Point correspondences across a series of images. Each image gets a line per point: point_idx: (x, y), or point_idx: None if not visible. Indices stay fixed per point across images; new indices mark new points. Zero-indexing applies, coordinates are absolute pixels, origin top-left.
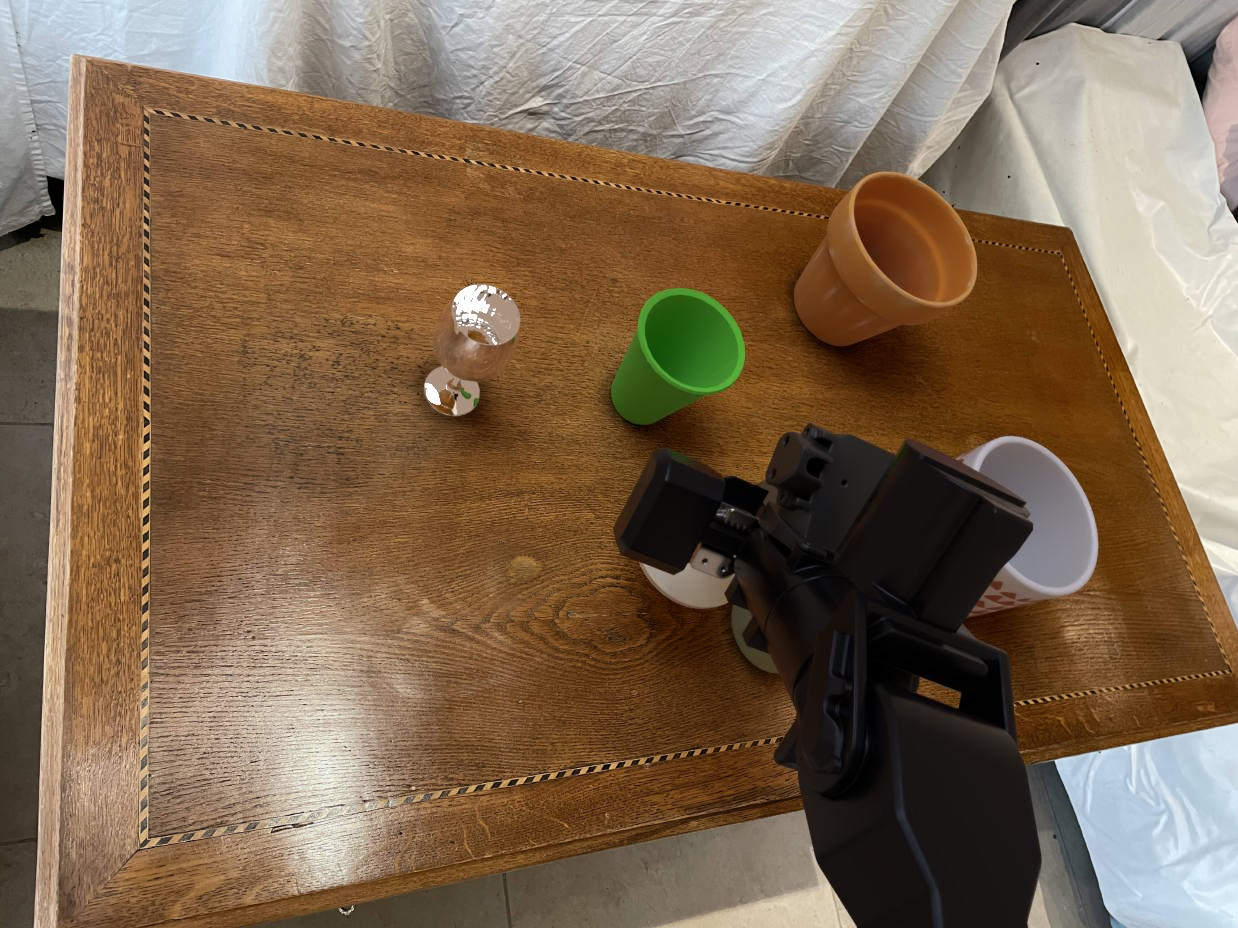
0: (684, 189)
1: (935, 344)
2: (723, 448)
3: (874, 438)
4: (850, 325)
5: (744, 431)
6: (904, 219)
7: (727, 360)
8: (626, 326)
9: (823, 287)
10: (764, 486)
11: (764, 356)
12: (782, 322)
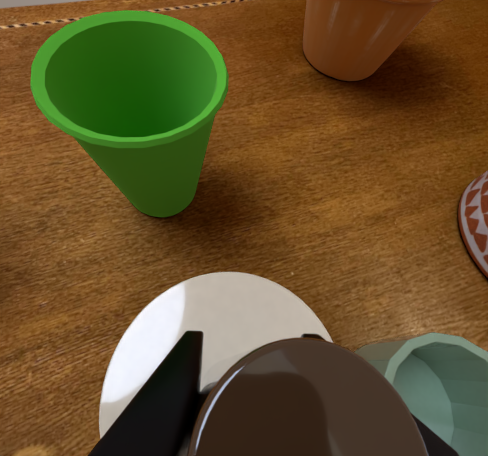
0: (181, 2)
1: (445, 54)
2: (273, 209)
3: (426, 148)
4: (366, 42)
5: (291, 184)
6: None
7: (211, 92)
8: None
9: (325, 13)
10: (218, 445)
11: (291, 109)
12: (300, 76)
